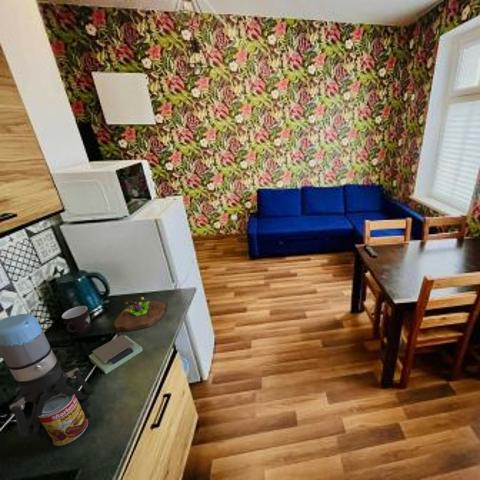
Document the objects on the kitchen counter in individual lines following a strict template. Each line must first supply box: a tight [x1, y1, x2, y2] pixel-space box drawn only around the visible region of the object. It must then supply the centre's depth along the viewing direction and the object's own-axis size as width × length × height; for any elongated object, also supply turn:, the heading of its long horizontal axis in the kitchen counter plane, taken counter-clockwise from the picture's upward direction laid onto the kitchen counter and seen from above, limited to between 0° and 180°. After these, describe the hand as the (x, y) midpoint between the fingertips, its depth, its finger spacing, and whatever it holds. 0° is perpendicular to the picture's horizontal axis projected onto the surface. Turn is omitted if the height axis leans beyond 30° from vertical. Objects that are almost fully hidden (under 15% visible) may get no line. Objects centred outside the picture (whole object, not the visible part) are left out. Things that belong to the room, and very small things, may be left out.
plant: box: [113, 296, 167, 333], centre depth 126 cm, size 20×20×11 cm
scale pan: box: [91, 334, 135, 364], centre depth 104 cm, size 10×10×1 cm
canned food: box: [38, 392, 89, 447], centre depth 74 cm, size 8×8×12 cm
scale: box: [88, 335, 144, 375], centre depth 105 cm, size 13×13×5 cm
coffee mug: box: [61, 305, 93, 336], centre depth 116 cm, size 12×9×10 cm
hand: (69, 428), depth 76 cm, fingers closed on canned food, 8 cm apart
